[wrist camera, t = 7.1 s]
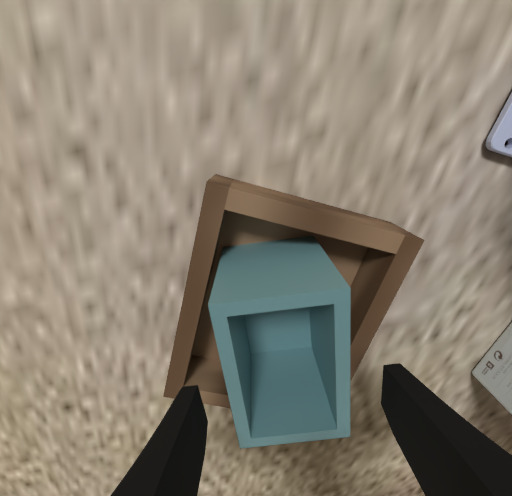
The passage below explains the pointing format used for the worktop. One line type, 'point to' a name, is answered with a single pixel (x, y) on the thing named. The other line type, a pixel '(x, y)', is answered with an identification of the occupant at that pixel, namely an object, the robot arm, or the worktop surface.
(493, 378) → the supplement box
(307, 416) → the teal crate
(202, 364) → the walnut crate
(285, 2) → the worktop surface
